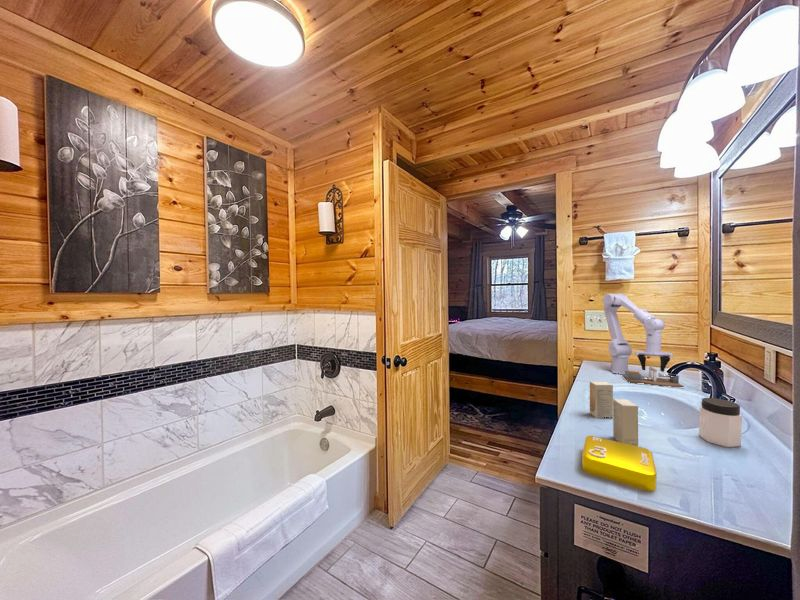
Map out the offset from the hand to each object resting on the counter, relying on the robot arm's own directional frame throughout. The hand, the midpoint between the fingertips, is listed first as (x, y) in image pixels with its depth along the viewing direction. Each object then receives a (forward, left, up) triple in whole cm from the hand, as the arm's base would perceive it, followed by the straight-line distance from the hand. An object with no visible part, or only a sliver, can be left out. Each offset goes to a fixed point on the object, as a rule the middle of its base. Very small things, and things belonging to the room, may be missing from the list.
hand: (652, 370), depth 154 cm
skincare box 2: (+76, -31, -6) cm, 82 cm away
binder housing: (0, -8, -6) cm, 10 cm away
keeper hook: (0, +6, -5) cm, 8 cm away
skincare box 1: (+56, -33, -6) cm, 66 cm away
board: (0, -1, -6) cm, 6 cm away
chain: (0, -5, -5) cm, 6 cm away
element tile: (+93, -37, -7) cm, 100 cm away
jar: (+65, -4, -6) cm, 65 cm away
